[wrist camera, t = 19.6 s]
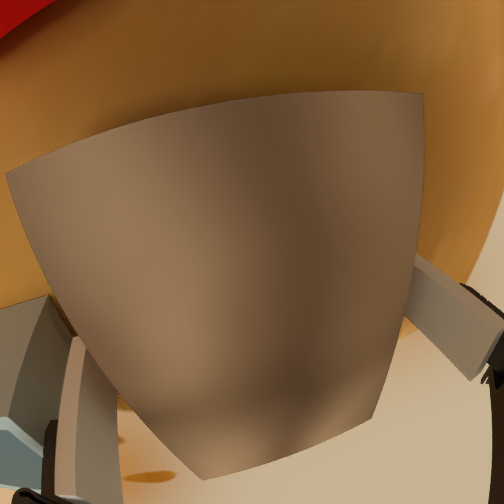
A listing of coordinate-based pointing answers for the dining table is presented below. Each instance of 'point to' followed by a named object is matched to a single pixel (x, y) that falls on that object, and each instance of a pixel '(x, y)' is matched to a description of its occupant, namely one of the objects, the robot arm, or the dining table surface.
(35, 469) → the open box
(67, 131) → the dining table surface
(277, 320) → the lid
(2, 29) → the ball
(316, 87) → the dining table surface
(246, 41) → the dining table surface
